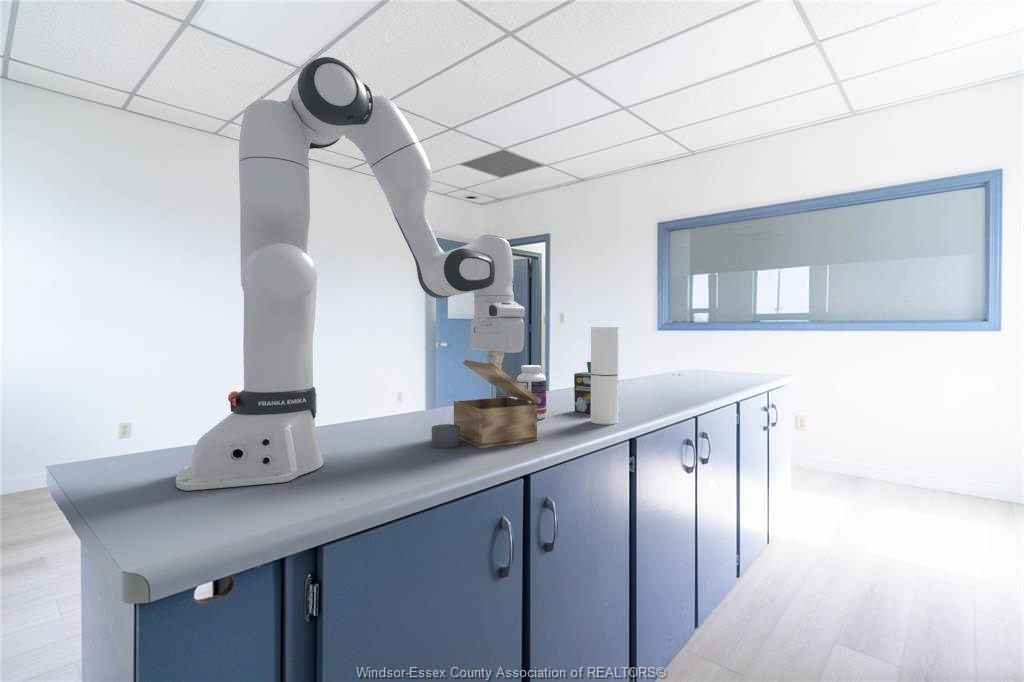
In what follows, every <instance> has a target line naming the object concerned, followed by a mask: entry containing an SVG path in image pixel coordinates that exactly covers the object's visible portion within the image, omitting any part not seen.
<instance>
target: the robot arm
mask: <svg viewBox="0 0 1024 682" xmlns="http://www.w3.org/2000/svg"><path fill="white" fill-rule="evenodd" d="M371 91H372V90H371V88H370V87H368V85H367V84H365V83H364V82H363V81H362V80H361V78H360V77H359V75H358V74H357V73H356V72H355V71H354V70H353V69H352V68H351V67H350V66H349V65H348V64H346V63H344V61H341V60H339V59H337V58H334V57H330V56H322V57H319V58H315V59H314V60H311V62H309V63H308V64H306V65H305V66H304V67H303V69H302V70H301V71H300V73H299V76H298V78H297V80H296V81H295V83H294V85H293V86H292V88H291V90H290V93H289V95H288V97H287V99H286V100H283V101H279V100H274V99H260V100H256V101H253V102H251V103H250V104H249V105H247V107H246V108H245V110H244V112H243V116H242V120H241V121H242V122H241V124H240V125H241V126H240V134H239V142H238V143H239V145H238V179H239V215H240V216H239V217H240V218H239V222H240V223H239V225H240V227H239V228H240V229H239V232H240V234H239V237H240V239H239V240H240V241H239V243H240V249H239V252H240V284H241V289H242V292H243V340H242V341H243V342H242V343H243V346H242V347H243V349H242V351H243V352H242V353H243V390H241V391H240V392H239V391H237V390H234V391H231V392H230V393H229V394H228V397H227V400H228V401H229V403H230V404H229V405H230V412H231V413H230V414H229V415H227V416H226V417H225V418H224V419H222V420H221V421H220V422H218V423H217V424H216V425H215V426H213V427H211V428H210V429H209V430H208V431H207V432H205V433H204V434H203V435H201V437H200V438H199V439H198V441H197V442H196V444H195V446H194V449H193V451H192V452H193V453H192V457H191V464H190V465H187V466H185V467H183V468H182V469H180V470H179V471H178V472H177V474H176V477H175V487H176V488H177V489H179V490H182V491H197V490H198V491H199V490H211V489H223V488H234V487H247V486H256V485H266V484H277V483H278V484H279V483H287V482H290V481H293V480H294V479H296V478H298V477H299V476H302V475H305V474H309V473H311V472H314V471H316V470H317V469H320V468H321V467H322V466H323V465H324V460H323V456H322V454H321V449H320V446H319V441H318V440H319V439H318V437H317V430H316V428H317V427H316V422H315V421H316V420H315V418H316V417H317V413H318V412H317V410H318V409H317V407H318V406H317V402H318V401H317V392H316V388H315V387H314V376H313V375H314V373H313V372H314V371H313V369H314V365H313V362H314V361H313V357H314V356H313V355H314V354H313V353H314V352H313V343H314V342H313V340H314V331H315V320H316V310H317V309H316V307H317V290H318V289H317V284H318V273H317V268H316V265H315V263H314V261H313V260H312V258H311V256H309V255H308V241H309V227H310V220H311V219H310V218H311V207H310V206H311V204H310V203H311V201H310V196H311V195H310V167H309V165H310V164H309V163H310V162H309V153H310V150H313V149H314V150H315V149H325V148H328V147H331V146H333V145H335V144H336V143H337V142H339V140H340V139H341V138H342V137H345V138H346V139H347V140H349V141H350V142H351V143H352V144H354V145H355V146H356V147H357V149H359V151H360V152H361V153H362V155H363V157H364V159H365V160H366V163H367V165H368V167H369V168H370V170H371V172H372V173H373V176H374V177H375V179H376V181H377V182H378V185H379V186H380V188H381V190H382V192H383V194H384V195H385V198H386V200H387V202H388V205H389V207H390V209H391V211H392V214H393V217H394V219H395V222H396V223H397V226H398V227H399V229H400V232H401V234H402V236H403V238H404V240H405V242H406V244H407V247H408V248H409V250H410V253H411V254H412V257H413V260H414V262H415V266H416V267H415V268H416V274H417V279H418V282H419V285H420V287H421V289H422V290H423V291H424V293H426V294H427V295H428V296H430V297H432V298H434V299H438V300H439V299H440V300H442V299H447V298H450V297H452V296H457V295H458V296H460V295H463V294H464V295H465V294H468V293H472V292H473V294H474V316H473V319H472V320H471V322H470V330H469V331H470V332H469V345H470V348H471V349H472V350H476V351H477V350H478V351H485V358H486V360H487V363H489V364H494V365H495V366H496V367H498V368H499V369H500V370H502V363H503V360H504V357H505V353H508V354H515V353H521V352H522V351H523V349H524V346H525V321H524V320H523V318H524V317H525V315H526V309H525V306H523V305H521V304H519V303H518V302H517V301H514V300H515V294H514V290H513V281H514V258H513V256H514V255H513V250H512V247H511V244H510V242H509V241H508V240H507V239H505V238H504V237H501V236H497V235H491V234H485V235H480V236H477V238H476V239H474V240H473V241H471V242H470V243H467V244H465V245H462V246H460V247H457V248H454V249H450V250H447V251H444V250H443V249H442V248H441V247H440V245H439V242H438V240H437V237H436V236H435V234H434V231H433V230H432V227H431V225H430V223H429V220H428V217H427V215H426V210H425V209H426V207H425V205H426V199H427V196H428V193H429V190H430V188H431V185H432V181H433V171H432V167H431V164H430V161H429V158H428V156H427V153H426V151H425V150H424V147H423V145H422V144H421V143H420V139H418V137H417V135H416V133H415V131H414V130H413V128H412V126H411V125H410V123H409V121H408V120H407V119H406V117H405V116H404V114H403V113H402V111H401V110H400V109H399V108H398V107H397V105H396V104H395V103H394V101H393V100H391V98H389V97H386V96H384V95H383V96H382V95H372V92H371Z"/></svg>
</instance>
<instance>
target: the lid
mask: <svg viewBox="0 0 1024 682" xmlns="http://www.w3.org/2000/svg"><path fill="white" fill-rule="evenodd" d="M463 365H465V367H467V368H469V369H470V370H471V371H473V372H474V373H476V374H477V375H478V376H480V377H481V378H483V379H484V380H485V381H487V382H488V383H490V384H491V385H493V386H494V387H495V388H496V389H498V390H500V391H501V392H502V393H504V394H505V395H506V396H507V397H510V398H514V399H517V398H519V399H523V400H526V401H530V402H534V403H538V404H540V402H541V401H542V400H541V399H540V398H538V397H537V396H536V395H534V394H533V393H532V392H530V391H529V390H528V389H526V388H525V387H523V386H522V385H521V384H519V383H518V382H517V380H516V379H514V378H512V377H511V376H510V375H509V374H508V373H506V372H505V371H503V370H502V369H501V370H500V369H499V368H498V367H496V366H495V365H494V364H489V363H488V362H482V361H477V360H476V361H474V360H469V359H468V360H467V359H464V362H463Z"/></svg>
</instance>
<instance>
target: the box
mask: <svg viewBox="0 0 1024 682" xmlns="http://www.w3.org/2000/svg"><path fill="white" fill-rule="evenodd" d="M453 424H454V425H459V426H460V440H463V441H464V442H465V443H468V444H470V445H472V446H473V447H475V448H478V449H486V448H494V447H500V446H501V447H502V446H509V445H514V444H515V445H516V444H525V443H531V442H532V443H533V442H537V441H538V419H537V405H536V404H532V403H529V402H525V401H521V400H517V398H515V397H511V396H498V397H489V398H487V397H485V398H475V399H473V398H472V399H461V400H453Z"/></svg>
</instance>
